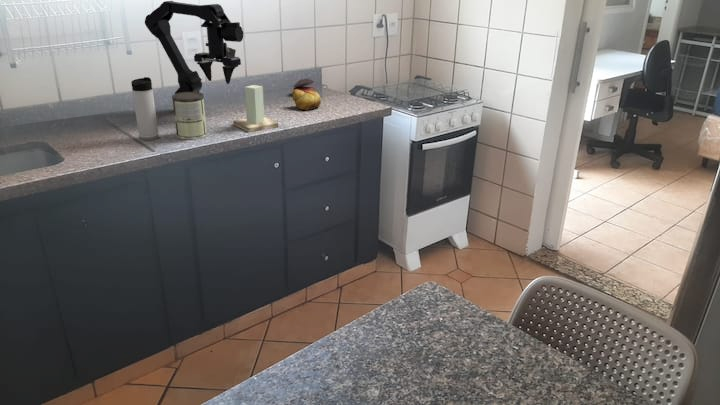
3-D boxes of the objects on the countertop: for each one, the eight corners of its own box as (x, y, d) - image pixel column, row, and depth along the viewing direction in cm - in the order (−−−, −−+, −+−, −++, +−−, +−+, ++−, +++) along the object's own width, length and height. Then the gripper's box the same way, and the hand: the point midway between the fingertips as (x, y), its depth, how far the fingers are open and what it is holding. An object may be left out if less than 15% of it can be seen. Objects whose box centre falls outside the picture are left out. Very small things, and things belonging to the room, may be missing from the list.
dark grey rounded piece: (296, 106, 248) (285, 87, 244) (301, 99, 256) (291, 80, 253) (317, 97, 244) (306, 77, 240) (322, 89, 253) (311, 70, 249)
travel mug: (163, 136, 187) (156, 78, 179) (150, 141, 181) (142, 81, 173) (148, 134, 189) (140, 76, 181) (135, 139, 183) (126, 79, 175)
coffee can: (171, 134, 189) (166, 94, 184) (197, 129, 196) (194, 90, 190) (185, 141, 183) (181, 100, 177) (212, 135, 189) (209, 95, 184)
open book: (249, 132, 194) (249, 128, 194) (233, 124, 203) (233, 120, 202) (278, 126, 201) (278, 123, 201) (261, 119, 210) (261, 115, 209)
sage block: (246, 122, 201) (244, 86, 195) (254, 119, 204) (253, 84, 199) (256, 124, 199) (254, 88, 193) (264, 121, 202) (262, 86, 197)
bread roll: (315, 103, 236) (314, 85, 232) (328, 108, 229) (328, 89, 226) (290, 107, 228) (289, 88, 225) (303, 112, 221) (302, 93, 218)
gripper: (249, 40, 204) (251, 81, 211) (212, 35, 213) (215, 76, 219) (228, 43, 195) (232, 86, 202) (191, 38, 204) (195, 80, 210)
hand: (219, 82), depth 208 cm, fingers open, 9 cm apart
